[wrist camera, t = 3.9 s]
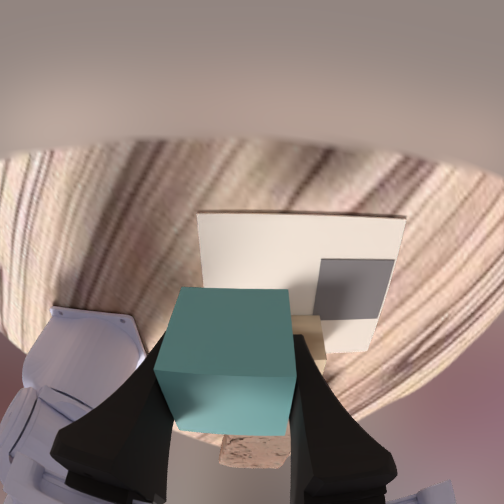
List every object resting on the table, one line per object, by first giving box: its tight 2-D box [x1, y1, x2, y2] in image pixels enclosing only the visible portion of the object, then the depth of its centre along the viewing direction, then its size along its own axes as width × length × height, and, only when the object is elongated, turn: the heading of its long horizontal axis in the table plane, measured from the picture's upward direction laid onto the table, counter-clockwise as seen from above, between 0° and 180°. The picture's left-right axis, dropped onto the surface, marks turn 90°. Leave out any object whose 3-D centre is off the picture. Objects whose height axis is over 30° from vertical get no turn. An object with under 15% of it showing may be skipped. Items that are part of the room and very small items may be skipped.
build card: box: [197, 213, 406, 353], centre depth 22 cm, size 14×13×1 cm
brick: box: [219, 419, 291, 469], centre depth 30 cm, size 16×8×5 cm, turn 169°
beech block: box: [291, 315, 327, 375], centre depth 22 cm, size 4×4×4 cm
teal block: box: [154, 287, 297, 436], centre depth 12 cm, size 4×4×4 cm
